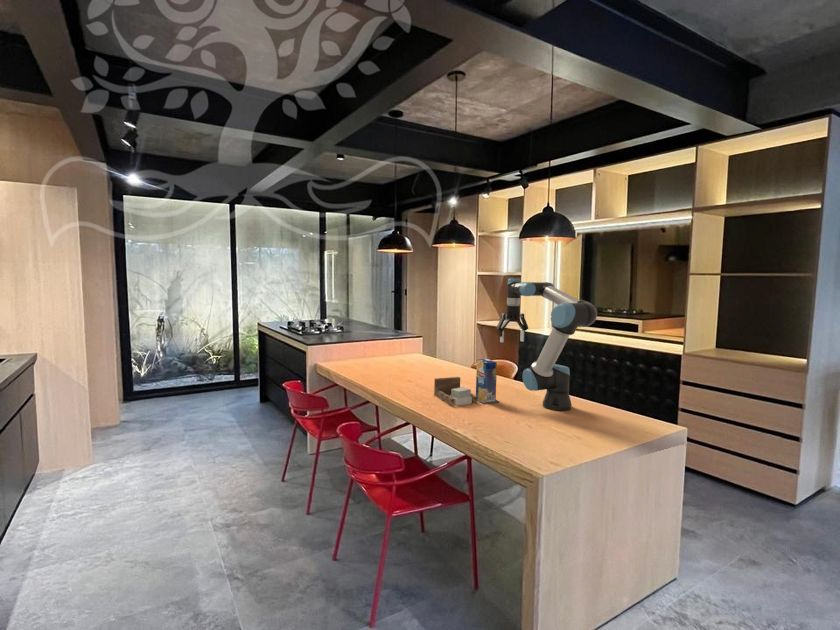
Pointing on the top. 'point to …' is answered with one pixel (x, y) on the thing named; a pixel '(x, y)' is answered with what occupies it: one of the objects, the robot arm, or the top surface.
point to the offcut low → (462, 400)
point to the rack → (448, 389)
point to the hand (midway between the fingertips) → (512, 341)
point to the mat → (488, 402)
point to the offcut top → (461, 392)
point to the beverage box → (486, 380)
